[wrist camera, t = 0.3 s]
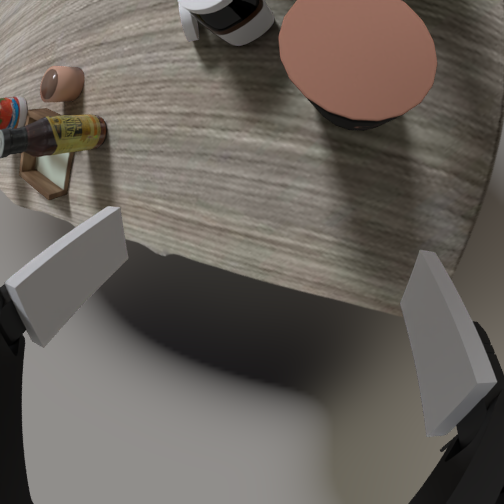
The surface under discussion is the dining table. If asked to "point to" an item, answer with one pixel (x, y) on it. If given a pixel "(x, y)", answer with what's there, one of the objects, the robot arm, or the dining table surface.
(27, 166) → the wooden tray
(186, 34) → the spread jar
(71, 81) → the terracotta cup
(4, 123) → the fruit juice
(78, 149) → the sauce bottle
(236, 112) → the dining table surface
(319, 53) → the coffee jar
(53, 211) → the dining table surface
